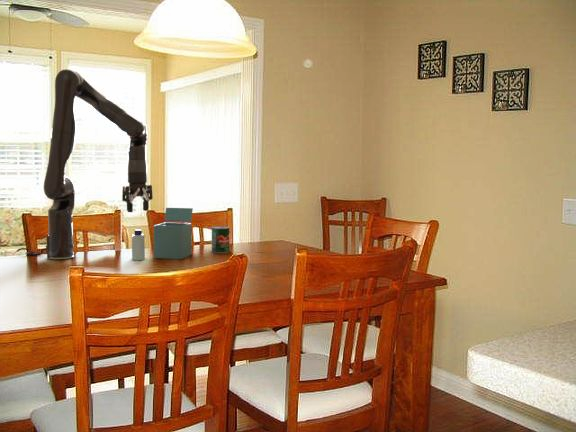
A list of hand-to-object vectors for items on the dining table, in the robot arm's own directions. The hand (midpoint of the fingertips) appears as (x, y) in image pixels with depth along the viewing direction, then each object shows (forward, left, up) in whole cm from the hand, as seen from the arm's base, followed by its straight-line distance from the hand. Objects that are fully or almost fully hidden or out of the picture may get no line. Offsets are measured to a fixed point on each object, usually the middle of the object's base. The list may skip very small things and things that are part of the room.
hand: (137, 211), depth 243 cm
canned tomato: (+27, +26, -20) cm, 42 cm away
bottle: (0, 0, -20) cm, 20 cm away
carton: (+11, +10, -20) cm, 24 cm away
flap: (+11, +17, -3) cm, 20 cm away
